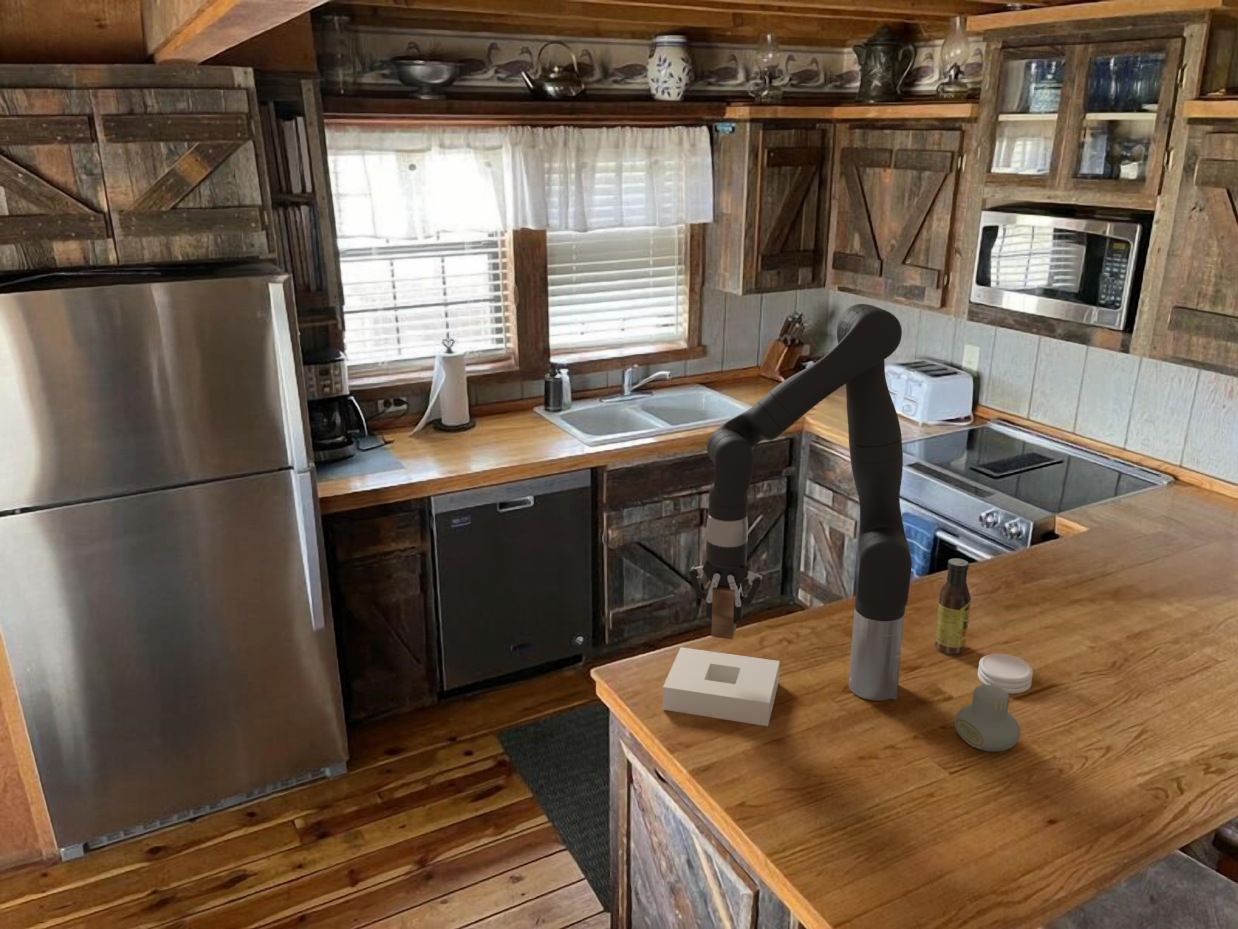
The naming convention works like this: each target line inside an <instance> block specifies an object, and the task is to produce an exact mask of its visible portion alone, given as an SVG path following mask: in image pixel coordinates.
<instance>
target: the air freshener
mask: <svg viewBox="0 0 1238 929" xmlns="http://www.w3.org/2000/svg"><path fill="white" fill-rule="evenodd" d="M1009 703H1010V695H1009V693H1007V692H1006V691H1005V690H1003V689H1002V688H1000V687H997V686H994V685H984V684H980V685H978V686H977V687H975V688H974V690H973V696H972V703H971V704H968V705H965V706H963V707H962V708H960V709H959V710H958V712H957V713H956V715H955V717H954V727H955V729H956V730H957V733H958V735H959V736H960V737H961V739H962V740H964V741H965V742H966V743H967V744H968V745H970V746H971V747H973V748H976V749H978V750H981V751H985V752H994V753H995V752H1002V751H1006V750H1010V749H1011V748H1012V747H1014V746H1015V745H1016V744H1018V741H1019V740H1020V737H1021V728H1020V724H1019V723H1018V721H1017V719H1016V718H1015V717H1014V716H1013V715H1012V714H1011V713H1010V711H1009V706H1010V705H1009Z"/></svg>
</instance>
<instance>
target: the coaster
mask: <svg viewBox="0 0 1238 929" xmlns="http://www.w3.org/2000/svg"><path fill="white" fill-rule="evenodd" d="M977 669H978V670H977V678H978V680H979V681H980V682H981V684H982V685H994V686H997V687H1000V688H1002V689H1003V690H1005V691H1006V692H1007V693H1008V694H1015V695H1016V694H1021V693H1025V692H1027V691H1028V690H1029V689H1030V688H1031V686H1032V681H1033V676H1034V671H1033V668H1032V667H1031V665H1030V664H1029V663H1028V662H1026V661H1025V660H1023V659H1022V658H1019V657H1017V656H1015V655H1011V654H1005V653H990V654H986V655H984V656H983V657H981V658H980V660H979V662H978V668H977Z"/></svg>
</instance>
